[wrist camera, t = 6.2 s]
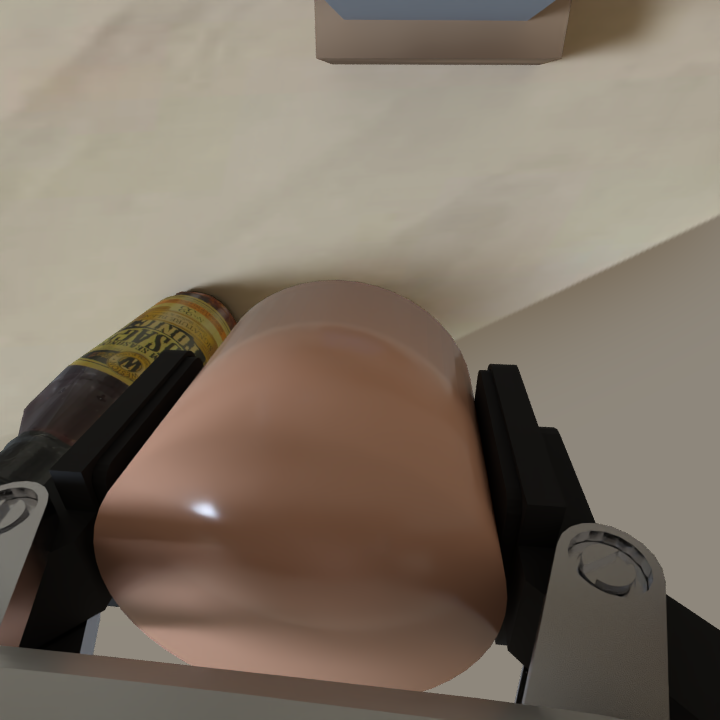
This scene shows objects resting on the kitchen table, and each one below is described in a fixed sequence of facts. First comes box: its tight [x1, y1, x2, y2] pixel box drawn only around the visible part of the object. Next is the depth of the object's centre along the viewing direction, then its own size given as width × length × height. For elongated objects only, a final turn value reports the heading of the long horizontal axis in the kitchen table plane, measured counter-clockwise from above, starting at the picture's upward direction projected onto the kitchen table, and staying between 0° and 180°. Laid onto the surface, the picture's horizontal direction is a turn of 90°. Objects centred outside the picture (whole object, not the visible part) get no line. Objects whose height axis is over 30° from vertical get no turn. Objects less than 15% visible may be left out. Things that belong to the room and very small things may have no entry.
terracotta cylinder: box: [93, 280, 507, 692], centre depth 9 cm, size 6×6×5 cm
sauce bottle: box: [0, 292, 236, 486], centre depth 27 cm, size 6×6×20 cm
